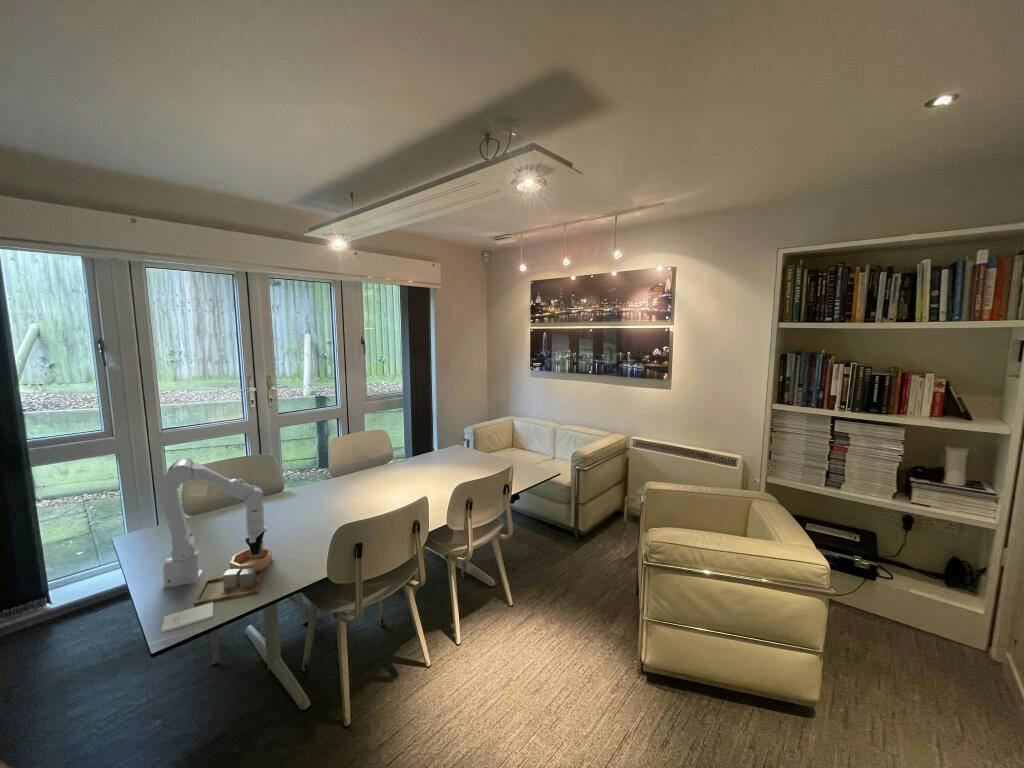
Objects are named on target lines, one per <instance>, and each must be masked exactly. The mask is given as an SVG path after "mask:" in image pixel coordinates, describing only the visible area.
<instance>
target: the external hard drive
mask: <svg viewBox="0 0 1024 768" xmlns="http://www.w3.org/2000/svg"><path fill="white" fill-rule="evenodd" d="M212 618H214V602H209V603H204V604H201V605H199V606H195V607H192V608H188V609H185V610H181V611H178V612H174V613H171V614H167V615H164V617H163V621H162V626H161V633H162V634H163V633H166V632H171V631H173V630H176V629H180V628H184V627H186V626H190V625H193V624H196V623H200V622H203V621H205V620H209V619H212Z"/></svg>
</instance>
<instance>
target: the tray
mask: <svg viewBox="0 0 1024 768" xmlns="http://www.w3.org/2000/svg"><path fill="white" fill-rule="evenodd" d="M264 573H265V571H264V569H262V570H258V571H255V574H256V581H255V583H254V585H253V586H252V587H245V588H240V583H239V585H238V586H237V587H236V588H224V586H223V576H219V577H214V578H207V579H205V580H204V582H203V584H202V586H201V588H200V589H199V592H198V594H197V596H196V598H195V600H194V602H193V606H197V605H199V606H200V605H205V604H209V603H212V602H213V603H214V602H219V601H224V600H229V599H234V598H239V597H243V596H244V597H245V596H250V595H255V594H258V593H259V591H260V587H261V584H262V579H263V576H264Z"/></svg>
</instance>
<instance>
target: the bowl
mask: <svg viewBox="0 0 1024 768" xmlns="http://www.w3.org/2000/svg"><path fill="white" fill-rule="evenodd" d="M263 548H264V552H263V556H262V557H256V558H250V548H245V549H243V550H242V551H240V552H238V553H236V554H233V556H232V558H231V559H230V562H229V569H240V573H241V571H242V569H250V568H255V571H258V570H264V569H265V568H267V567H268V566H270V565H271V561H272V558H273V557H272V549H270V548H268V547H265V546H263Z"/></svg>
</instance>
